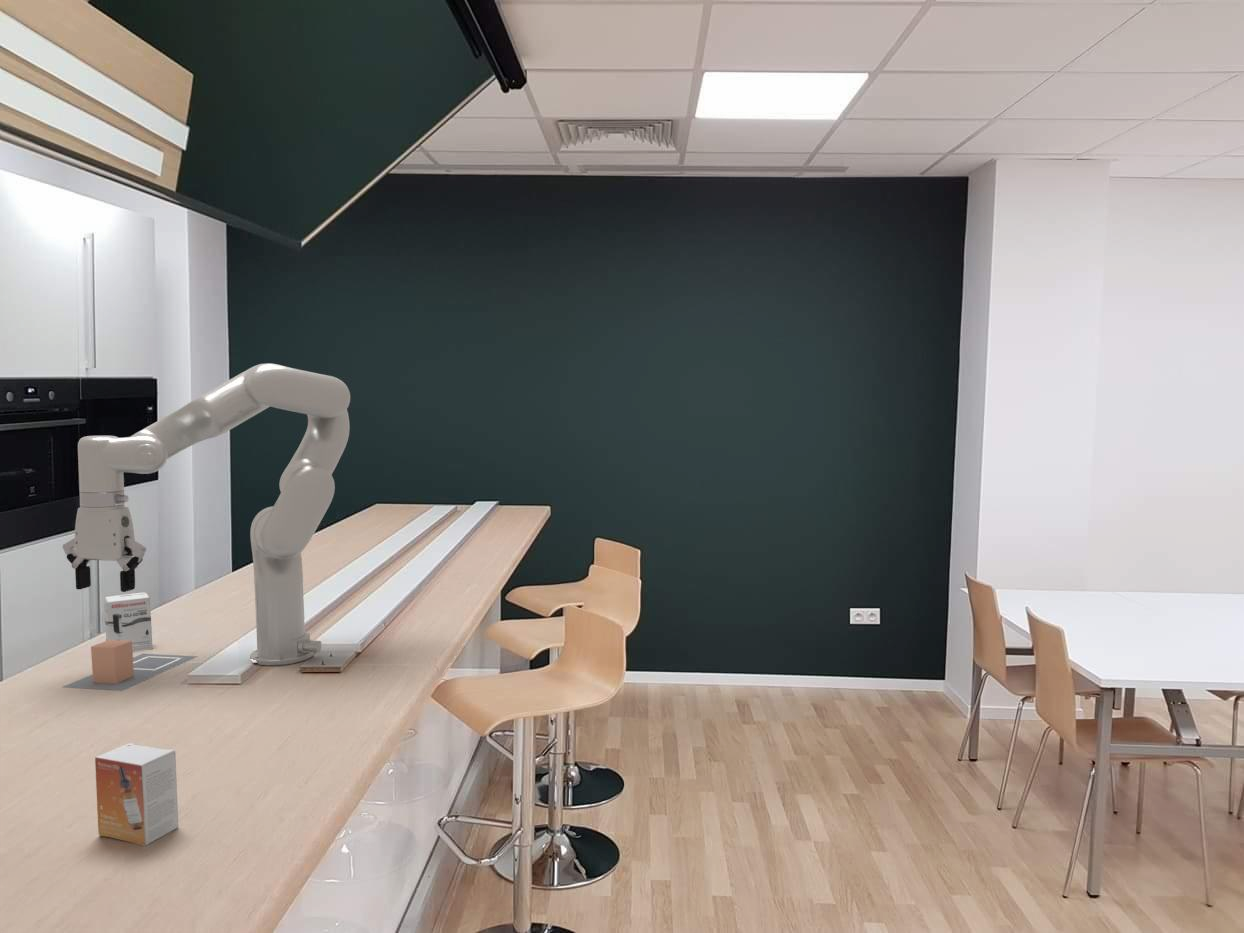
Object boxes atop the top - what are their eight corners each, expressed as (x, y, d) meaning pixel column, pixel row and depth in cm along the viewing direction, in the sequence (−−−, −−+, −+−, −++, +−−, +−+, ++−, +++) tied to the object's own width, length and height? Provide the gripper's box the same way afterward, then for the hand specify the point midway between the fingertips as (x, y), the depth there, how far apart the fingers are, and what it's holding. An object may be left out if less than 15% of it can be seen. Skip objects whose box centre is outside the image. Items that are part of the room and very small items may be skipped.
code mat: (198, 657, 207) (197, 656, 207) (121, 692, 184) (121, 690, 184) (143, 654, 209) (143, 653, 209) (61, 688, 187) (61, 687, 187)
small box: (97, 836, 126) (92, 756, 125) (133, 818, 131) (128, 741, 130) (145, 847, 123) (140, 765, 122) (180, 827, 128) (176, 749, 127)
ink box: (109, 656, 209) (106, 600, 208) (106, 650, 213) (103, 596, 212) (153, 649, 214) (150, 595, 212) (150, 644, 218) (147, 591, 217)
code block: (133, 676, 193) (131, 640, 193) (116, 683, 188) (113, 647, 188) (111, 674, 194) (109, 639, 194) (93, 682, 189) (90, 646, 189)
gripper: (155, 499, 190) (158, 587, 191) (77, 497, 193) (80, 583, 195) (128, 504, 183) (132, 595, 184) (47, 501, 186) (51, 591, 188)
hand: (105, 589), depth 190 cm, fingers open, 9 cm apart
